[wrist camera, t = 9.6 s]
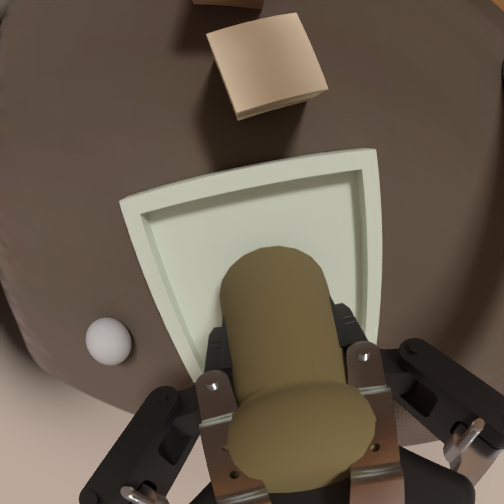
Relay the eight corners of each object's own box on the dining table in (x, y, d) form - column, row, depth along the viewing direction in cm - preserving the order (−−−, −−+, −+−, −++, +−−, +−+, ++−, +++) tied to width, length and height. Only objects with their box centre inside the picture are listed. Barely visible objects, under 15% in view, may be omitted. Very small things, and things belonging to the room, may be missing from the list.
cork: (333, 322, 16) (398, 486, 6) (238, 347, 16) (240, 521, 6) (317, 232, 14) (442, 419, 3) (203, 263, 14) (153, 480, 4)
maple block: (283, 41, 12) (296, 12, 8) (306, 101, 13) (328, 88, 10) (214, 59, 12) (206, 34, 8) (237, 120, 14) (236, 112, 10)
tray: (363, 147, 14) (375, 149, 13) (368, 334, 20) (375, 347, 18) (129, 195, 15) (118, 201, 13) (196, 368, 20) (193, 382, 19)
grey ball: (125, 305, 18) (107, 336, 14) (144, 342, 19) (131, 374, 16) (89, 310, 18) (70, 338, 15) (109, 345, 19) (94, 374, 16)
